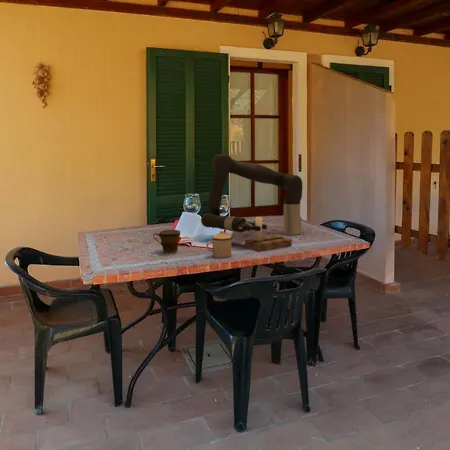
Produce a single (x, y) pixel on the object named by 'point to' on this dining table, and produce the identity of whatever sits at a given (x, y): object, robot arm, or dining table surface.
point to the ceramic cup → (169, 240)
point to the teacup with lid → (221, 245)
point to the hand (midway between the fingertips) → (263, 227)
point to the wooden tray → (269, 243)
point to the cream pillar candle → (258, 233)
